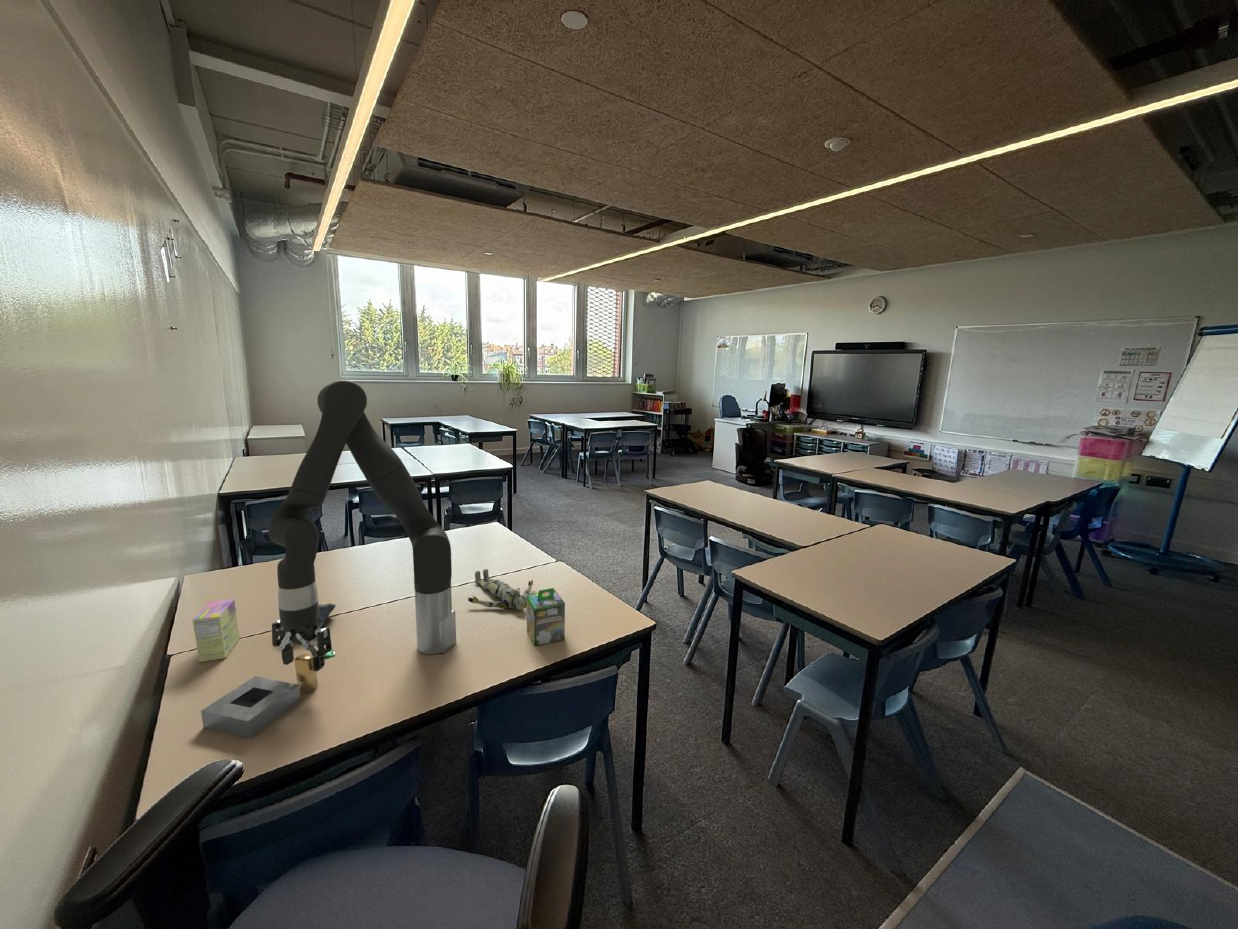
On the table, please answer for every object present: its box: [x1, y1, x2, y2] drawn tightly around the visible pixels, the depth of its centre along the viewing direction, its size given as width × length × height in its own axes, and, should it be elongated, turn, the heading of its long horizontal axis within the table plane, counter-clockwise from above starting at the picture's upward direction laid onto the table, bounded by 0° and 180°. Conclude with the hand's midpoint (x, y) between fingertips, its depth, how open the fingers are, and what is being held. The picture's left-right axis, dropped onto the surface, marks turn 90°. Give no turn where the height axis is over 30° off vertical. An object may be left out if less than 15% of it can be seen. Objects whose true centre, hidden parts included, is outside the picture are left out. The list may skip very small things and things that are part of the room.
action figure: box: [467, 568, 534, 611], centre depth 163 cm, size 24×6×30 cm
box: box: [192, 598, 241, 663], centre depth 127 cm, size 10×6×12 cm, turn 21°
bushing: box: [294, 652, 319, 695], centre depth 114 cm, size 4×4×8 cm
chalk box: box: [525, 587, 566, 647], centre depth 139 cm, size 9×9×15 cm
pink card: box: [324, 649, 336, 659], centre depth 128 cm, size 3×3×1 cm
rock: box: [316, 602, 337, 629], centre depth 142 cm, size 16×8×10 cm
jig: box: [200, 676, 301, 739], centre depth 105 cm, size 12×12×4 cm
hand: (303, 666), depth 114 cm, fingers open, 8 cm apart
